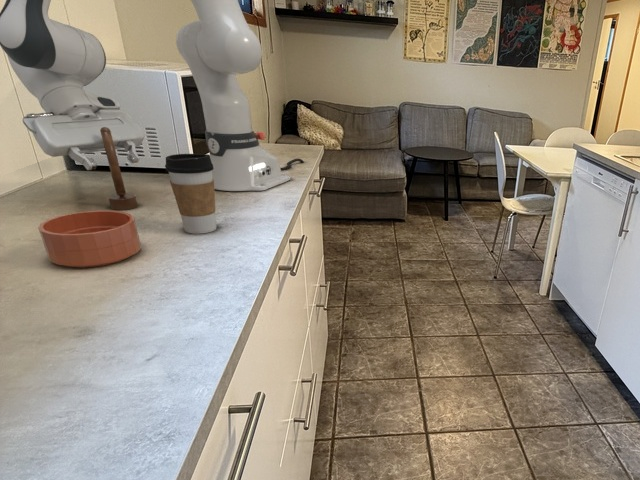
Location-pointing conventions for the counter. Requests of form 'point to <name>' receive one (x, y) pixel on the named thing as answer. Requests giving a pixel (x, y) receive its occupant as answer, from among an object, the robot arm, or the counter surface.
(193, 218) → the coffee cup
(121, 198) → the brown pestle
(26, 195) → the counter surface
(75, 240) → the bowl
